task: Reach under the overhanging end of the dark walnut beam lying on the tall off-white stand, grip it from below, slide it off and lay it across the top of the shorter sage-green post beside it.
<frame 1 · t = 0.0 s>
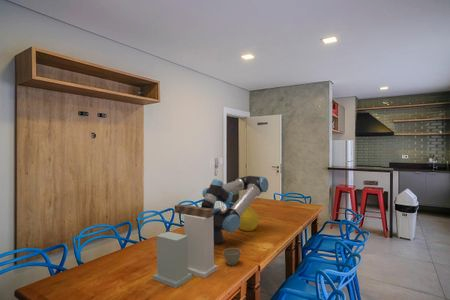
hand: (194, 234, 159), 15 cm above the table, tool tilted 35°, fingers open, 13 cm apart
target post: (172, 278, 136), on the table
tall stand: (199, 269, 145), on the table
flower pot: (232, 263, 153), on the table
vase: (247, 229, 216), on the table
walnut beam: (193, 214, 147), point 30 cm above the table, touching tall stand
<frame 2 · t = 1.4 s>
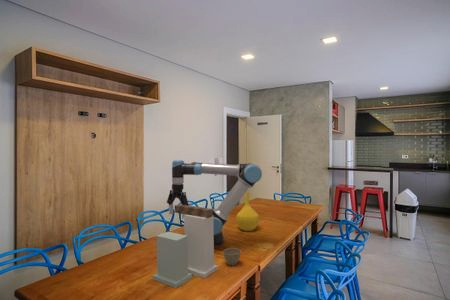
hand: (177, 215, 174), 22 cm above the table, tool pointing down, fingers open, 13 cm apart
nothing on the table moved.
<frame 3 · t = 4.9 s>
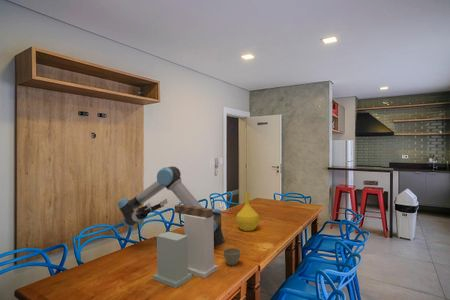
hand: (159, 202, 171), 32 cm above the table, tool pointing upward, fingers open, 13 cm apart
nothing on the table moved.
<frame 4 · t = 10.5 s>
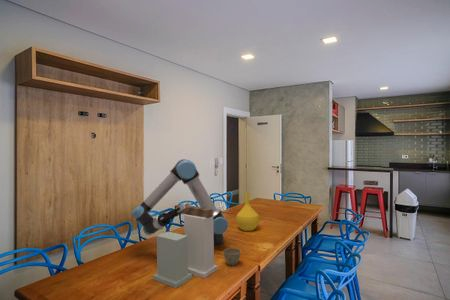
hand: (186, 205, 149), 35 cm above the table, tool pointing upward, fingers closed on walnut beam, 4 cm apart
walnut beam: (193, 214, 147), point 30 cm above the table, touching gripper, tall stand
everything else where it was.
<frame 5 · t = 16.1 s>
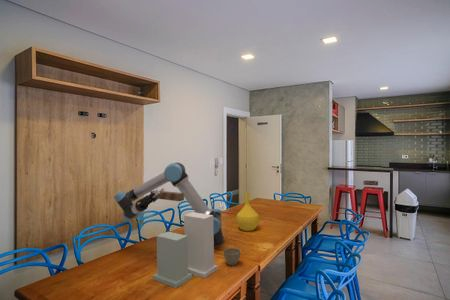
hand: (161, 190, 160), 41 cm above the table, tool pointing upward, fingers closed on walnut beam, 4 cm apart
walnut beam: (166, 198, 158), point 37 cm above the table, touching gripper
everything else where it was.
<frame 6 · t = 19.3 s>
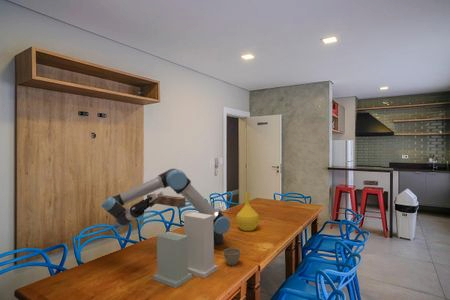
hand: (159, 194, 140), 43 cm above the table, tool pointing upward, fingers closed on walnut beam, 4 cm apart
walnut beam: (165, 204, 138), point 38 cm above the table, touching gripper
everything else where it was.
when the fingers open (28 cm above the table, at t = 22.0 s): walnut beam drops 1 cm, resting on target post.
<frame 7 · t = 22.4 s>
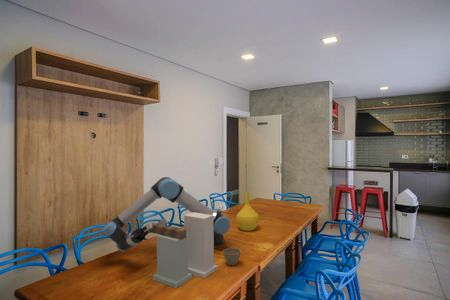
hand: (159, 222, 141), 28 cm above the table, tool pointing upward, fingers open, 10 cm apart
walnut beam: (166, 234, 138), point 22 cm above the table, touching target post
everything else where it was.
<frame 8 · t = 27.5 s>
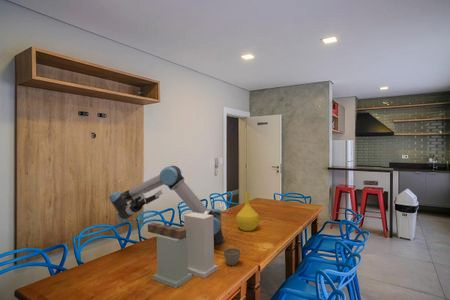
hand: (153, 193, 162), 40 cm above the table, tool pointing upward, fingers open, 13 cm apart
nothing on the table moved.
at the end: walnut beam inside the target area on the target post (0.5 cm from its centre), point 22.0 cm above the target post's base; walnut beam tilted 0°; walnut beam touching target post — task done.
